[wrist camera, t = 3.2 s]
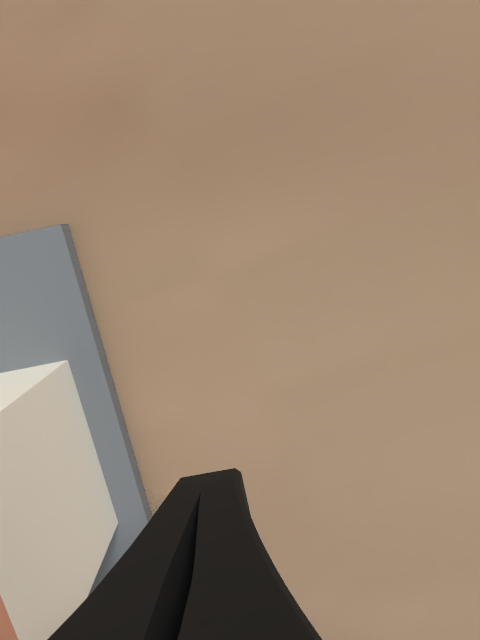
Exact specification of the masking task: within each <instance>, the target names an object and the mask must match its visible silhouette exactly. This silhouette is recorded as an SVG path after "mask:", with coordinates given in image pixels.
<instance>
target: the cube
mask: <svg viewBox="0 0 480 640" xmlns="http://www.w3.org/2000/svg"><path fill="white" fill-rule="evenodd" d="M117 525H118V521H117V517H116V514H115V511H114V508H113V505H112V501H111V498H110V495H109V492H108V488H107V485H106V482H105V479H104V476H103V472H102V469H101V466H100V463H99V459H98V456H97V453H96V450H95V447H94V443H93V440H92V437H91V434H90V430H89V427H88V424H87V421H86V418H85V414H84V411H83V408H82V405H81V401H80V398H79V395H78V392H77V389H76V385H75V382H74V379H73V376H72V372H71V369H70V366H69V363H68V360H65V361H60V362H55V363H50V364H45V365H39V366H34V367H29V368H24V369H19V370H14V371H9V372H4V373H0V640H47V639H48V638H49V637H50V636H51V635H52V634H53V633H54V632H55V631H56V630H57V629H58V628H59V627H60V626H61V625H62V624H63V623H64V622H65V621H66V620H67V619H68V618H69V617H70V616H71V615H72V614H73V612H74V611H75V610H76V609H77V608H78V607H79V606H80V605H81V604H82V603H83V602H84V601H85V599H86V598H87V597H88V594H89V592H90V590H91V587H92V585H93V582H94V580H95V578H96V575H97V573H98V570H99V568H100V565H101V563H102V561H103V558H104V556H105V553H106V551H107V549H108V546H109V544H110V541H111V539H112V537H113V534H114V532H115V529H116V527H117Z"/></svg>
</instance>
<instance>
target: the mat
mask: <svg viewBox="0 0 480 640" xmlns="http://www.w3.org/2000/svg"><path fill="white" fill-rule="evenodd" d="M65 360H68V363H69V366H70V369H71V372H72V376H73V379H74V382H75V385H76V389H77V392H78V395H79V398H80V401H81V405H82V408H83V411H84V414H85V418H86V421H87V424H88V427H89V430H90V434H91V437H92V440H93V443H94V447H95V450H96V453H97V456H98V459H99V463H100V466H101V469H102V472H103V476H104V479H105V482H106V485H107V488H108V492H109V495H110V498H111V501H112V505H113V508H114V511H115V514H116V517H117V521H118V525H117V527H116V529H115V532H114V534H113V537H112V539H111V541H110V544H109V546H108V549H107V551H106V553H105V556H104V558H103V561H102V563H101V565H100V568H99V570H98V573H97V575H96V578H95V580H94V582H93V585H92V587H91V590H90V592H89V594H88V596H89V595H90V594H91V593H92V592H93V590H94V589H95V588H96V587H97V586H98V585H99V583H100V582H101V581H102V580H103V579H104V577H105V576H106V575H107V574H108V573H109V571H110V570H111V569H112V568H113V566H114V565H115V564H116V563H117V562H118V560H119V559H120V558H121V557H122V556H123V554H124V553H125V552H126V551H127V550H128V548H129V547H130V546H131V545H132V543H133V542H134V541H135V539H136V538H137V537H138V535H139V534H140V533H141V531H142V530H143V529H144V527H145V526H146V525H147V523H148V522H149V521H150V519H151V518H152V515H151V511H150V508H149V504H148V501H147V497H146V494H145V490H144V487H143V484H142V480H141V477H140V473H139V470H138V466H137V463H136V459H135V456H134V452H133V449H132V445H131V442H130V438H129V435H128V431H127V428H126V424H125V421H124V417H123V414H122V411H121V407H120V404H119V400H118V397H117V393H116V390H115V386H114V383H113V379H112V376H111V372H110V369H109V365H108V362H107V358H106V355H105V351H104V348H103V344H102V341H101V338H100V334H99V331H98V327H97V324H96V320H95V317H94V313H93V310H92V306H91V303H90V299H89V296H88V292H87V289H86V285H85V282H84V278H83V275H82V271H81V268H80V265H79V261H78V258H77V254H76V251H75V247H74V244H73V240H72V237H71V233H70V230H69V226H68V224H60V225H55V226H50V227H46V228H41V229H36V230H32V231H27V232H22V233H17V234H13V235H8V236H3V237H0V373H4V372H9V371H14V370H19V369H24V368H29V367H34V366H39V365H45V364H50V363H55V362H60V361H65Z"/></svg>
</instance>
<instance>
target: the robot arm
mask: <svg viewBox="0 0 480 640" xmlns="http://www.w3.org/2000/svg"><path fill="white" fill-rule="evenodd" d="M47 640H322V639H321V637H320V636H319V635H318V633H317V632H316V630H315V629H314V627H313V626H312V625H311V623H310V622H309V620H308V619H307V617H306V616H305V614H304V613H303V611H302V610H301V608H300V607H299V605H298V604H297V602H296V601H295V599H294V598H293V596H292V594H291V593H290V591H289V590H288V588H287V586H286V585H285V583H284V581H283V580H282V578H281V576H280V575H279V573H278V571H277V569H276V568H275V566H274V564H273V562H272V560H271V558H270V557H269V555H268V553H267V551H266V549H265V547H264V545H263V543H262V541H261V539H260V537H259V535H258V532H257V530H256V528H255V526H254V523H253V521H252V519H251V515H250V511H249V506H248V502H247V497H246V493H245V488H244V484H243V479H242V475H241V472H240V471H238V470H237V469H235V468H234V469H228V470H222V471H217V472H211V473H205V474H200V475H194V476H188V477H183V478H181V479H180V480H179V481H178V482H177V484H176V485H175V486H174V488H173V489H172V491H171V492H170V493H169V495H168V496H167V497H166V499H165V500H164V502H163V503H162V504H161V506H160V507H159V508H158V510H157V511H156V513H155V514H154V515H153V517H152V518H151V519H150V521H149V522H148V523H147V525H146V526H145V527H144V529H143V530H142V531H141V533H140V534H139V535H138V537H137V538H136V539H135V541H134V542H133V543H132V545H131V546H130V547H129V548H128V550H127V551H126V552H125V553H124V554H123V556H122V557H121V558H120V559H119V560H118V562H117V563H116V564H115V565H114V566H113V568H112V569H111V570H110V571H109V573H108V574H107V575H106V576H105V577H104V579H103V580H102V581H101V582H100V583H99V585H98V586H97V587H96V588H95V589H94V590H93V592H92V593H91V594H90V595H89V596H88V597H87V598H86V599H85V601H84V602H83V603H82V604H81V605H80V606H79V607H78V608H77V609H76V610H75V611H74V612H73V614H72V615H71V616H70V617H69V618H68V619H67V620H66V621H65V622H64V623H63V624H62V625H61V626H60V627H59V628H58V629H57V630H56V631H55V632H54V633H53V634H52V635H51V636H50V637H49V638H48V639H47Z"/></svg>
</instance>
